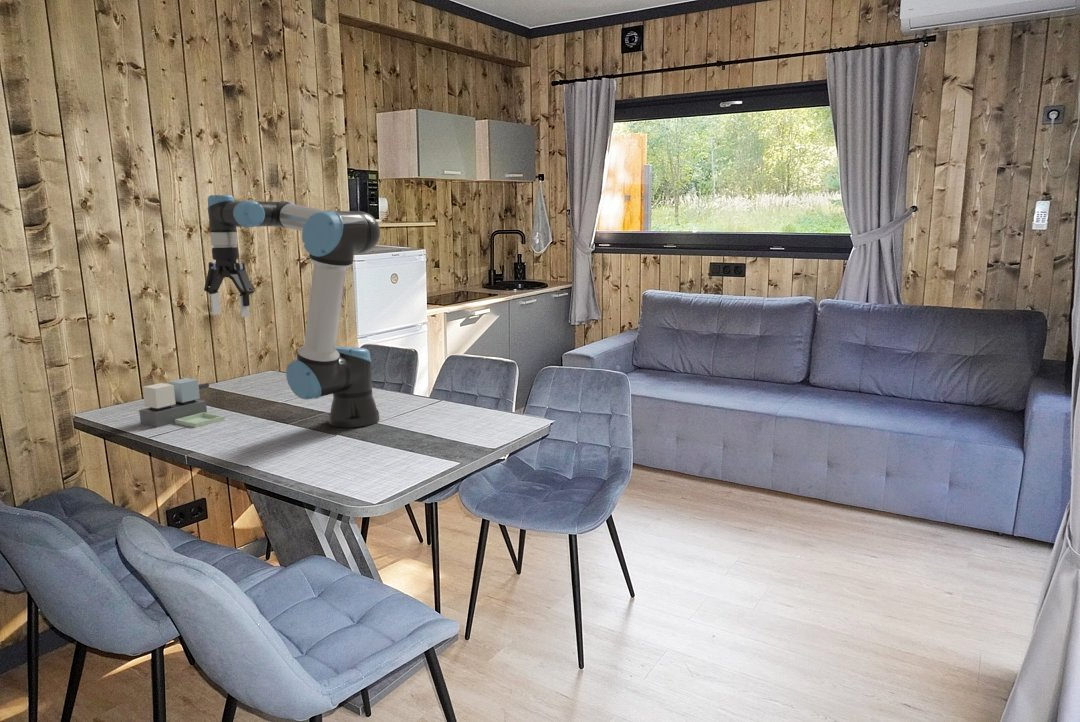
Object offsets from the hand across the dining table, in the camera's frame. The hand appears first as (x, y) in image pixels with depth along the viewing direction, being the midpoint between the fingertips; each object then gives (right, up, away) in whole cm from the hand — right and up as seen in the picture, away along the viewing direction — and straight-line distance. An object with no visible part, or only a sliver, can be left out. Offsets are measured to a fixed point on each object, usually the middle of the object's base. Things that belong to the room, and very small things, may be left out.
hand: (230, 315), depth 235 cm
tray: (-8, -33, -4) cm, 34 cm away
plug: (-19, -32, -5) cm, 38 cm away
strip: (-16, -32, 0) cm, 36 cm away
